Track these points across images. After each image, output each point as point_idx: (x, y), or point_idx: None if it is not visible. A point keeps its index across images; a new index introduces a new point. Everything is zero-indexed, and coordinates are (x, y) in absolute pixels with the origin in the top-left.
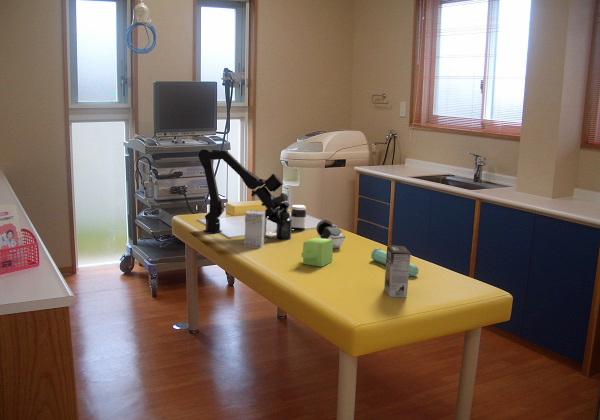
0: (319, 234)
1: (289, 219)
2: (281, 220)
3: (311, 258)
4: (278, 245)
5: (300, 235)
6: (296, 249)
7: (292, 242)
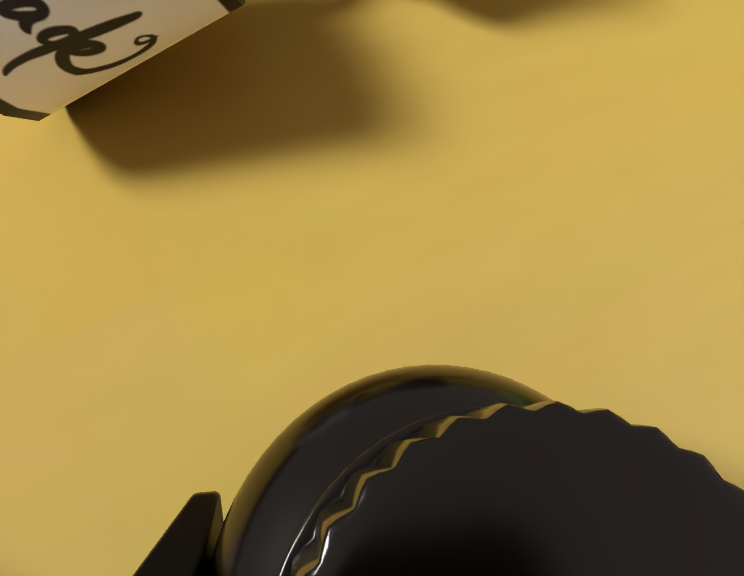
0: (244, 1)
1: (455, 400)
2: None
3: None
4: (728, 377)
5: (43, 402)
6: (696, 149)
7: (491, 306)
